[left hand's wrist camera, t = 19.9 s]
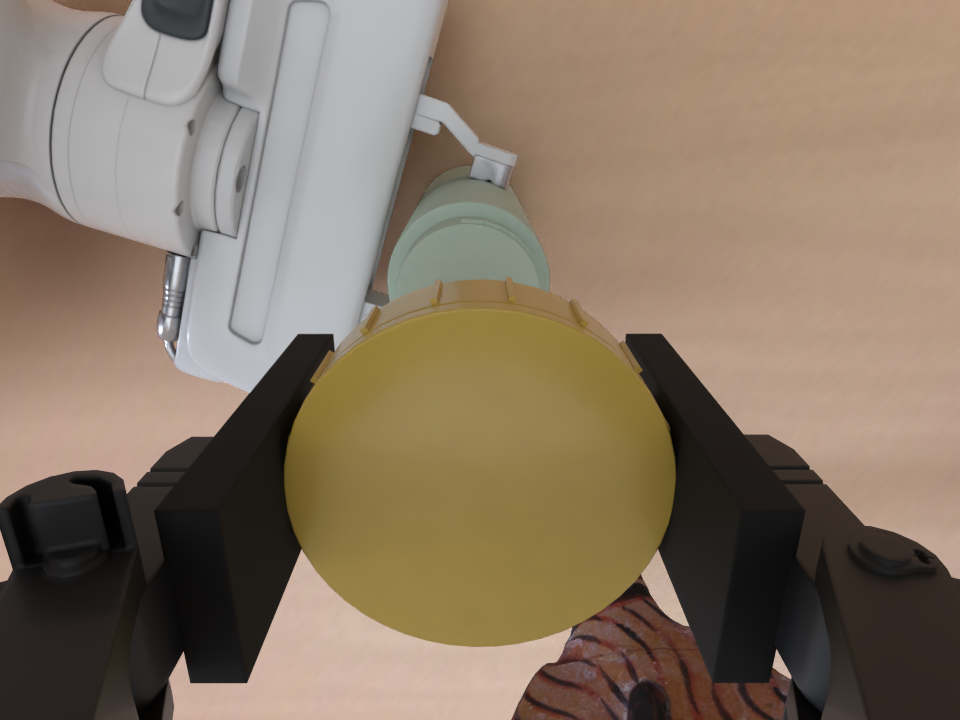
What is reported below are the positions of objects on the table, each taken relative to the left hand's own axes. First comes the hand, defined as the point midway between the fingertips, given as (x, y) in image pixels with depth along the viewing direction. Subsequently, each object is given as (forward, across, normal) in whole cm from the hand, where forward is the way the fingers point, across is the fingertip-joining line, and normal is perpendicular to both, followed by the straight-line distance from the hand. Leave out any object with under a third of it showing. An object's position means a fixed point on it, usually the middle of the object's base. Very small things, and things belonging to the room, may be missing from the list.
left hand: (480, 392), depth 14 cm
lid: (-4, 0, 0) cm, 4 cm away
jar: (+23, 0, 0) cm, 23 cm away
